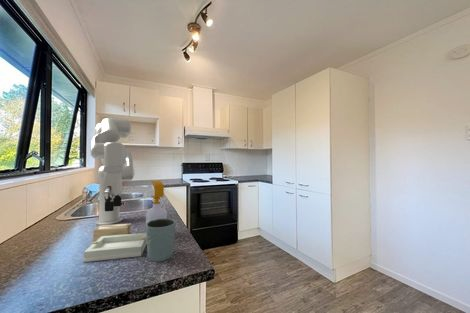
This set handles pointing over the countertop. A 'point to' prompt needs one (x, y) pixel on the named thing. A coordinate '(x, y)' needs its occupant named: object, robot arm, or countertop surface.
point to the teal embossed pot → (160, 239)
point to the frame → (111, 230)
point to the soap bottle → (156, 203)
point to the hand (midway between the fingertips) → (113, 208)
